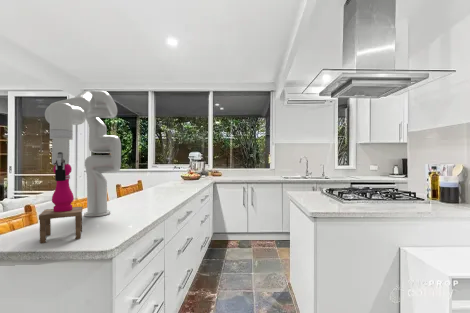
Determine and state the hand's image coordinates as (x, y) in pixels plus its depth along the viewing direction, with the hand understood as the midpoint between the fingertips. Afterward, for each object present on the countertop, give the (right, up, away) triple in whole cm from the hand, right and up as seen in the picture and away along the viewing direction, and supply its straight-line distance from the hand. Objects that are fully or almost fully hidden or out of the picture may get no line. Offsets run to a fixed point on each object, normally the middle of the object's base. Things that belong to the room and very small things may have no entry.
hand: (62, 179), depth 108 cm
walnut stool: (0, -22, 0) cm, 22 cm away
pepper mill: (0, -12, 0) cm, 12 cm away
